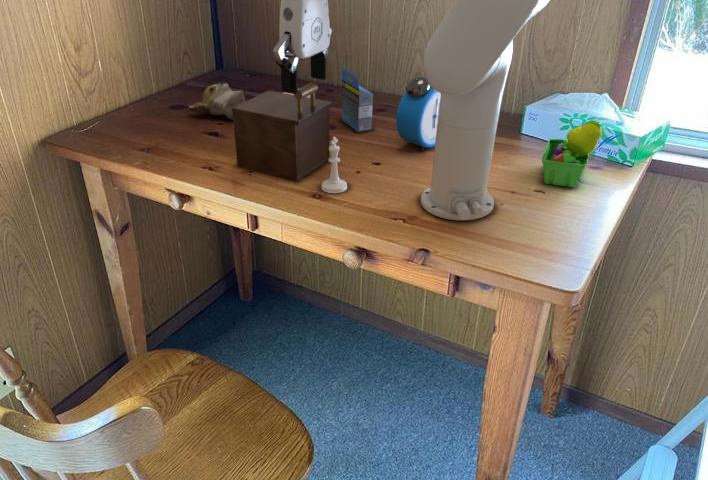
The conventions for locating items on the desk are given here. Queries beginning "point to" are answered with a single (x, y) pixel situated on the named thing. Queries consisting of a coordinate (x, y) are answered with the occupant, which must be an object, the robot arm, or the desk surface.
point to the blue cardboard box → (356, 103)
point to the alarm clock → (419, 113)
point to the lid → (285, 105)
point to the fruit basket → (570, 154)
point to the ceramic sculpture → (218, 100)
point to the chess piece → (334, 172)
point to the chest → (282, 145)
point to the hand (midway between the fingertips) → (304, 85)
